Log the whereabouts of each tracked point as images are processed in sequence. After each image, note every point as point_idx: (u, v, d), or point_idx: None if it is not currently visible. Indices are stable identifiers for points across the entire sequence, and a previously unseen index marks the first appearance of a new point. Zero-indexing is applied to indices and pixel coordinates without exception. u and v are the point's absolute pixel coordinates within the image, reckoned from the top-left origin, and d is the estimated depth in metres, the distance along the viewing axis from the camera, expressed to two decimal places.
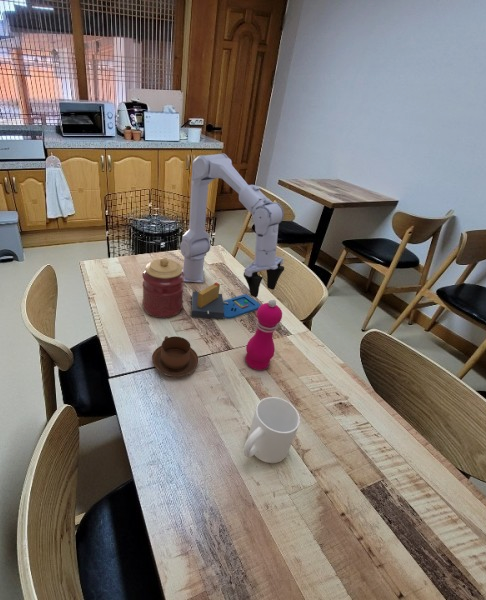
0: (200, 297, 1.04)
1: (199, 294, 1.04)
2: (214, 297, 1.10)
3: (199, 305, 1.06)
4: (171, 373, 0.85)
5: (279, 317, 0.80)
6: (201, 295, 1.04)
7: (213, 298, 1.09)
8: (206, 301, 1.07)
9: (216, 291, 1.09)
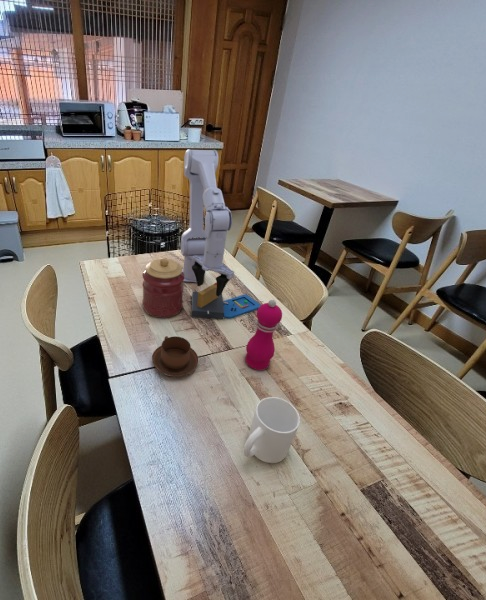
0: (200, 297, 1.04)
1: (199, 294, 1.04)
2: (214, 297, 1.10)
3: (199, 305, 1.06)
4: (171, 373, 0.85)
5: (279, 317, 0.80)
6: (201, 295, 1.04)
7: (213, 298, 1.09)
8: (206, 301, 1.07)
9: None
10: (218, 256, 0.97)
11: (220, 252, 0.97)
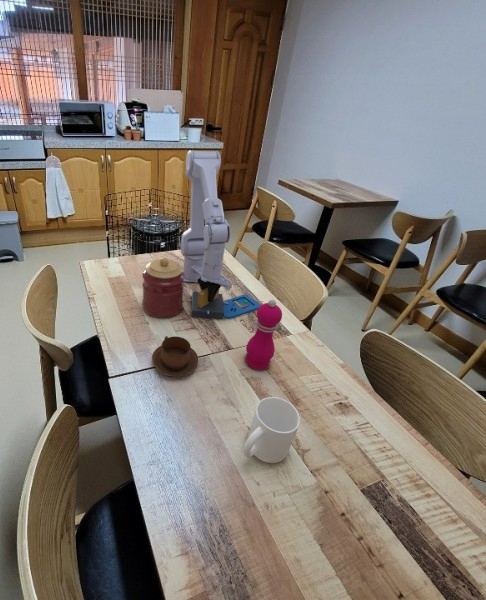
0: (200, 297, 1.04)
1: (199, 294, 1.04)
2: (214, 297, 1.10)
3: (199, 305, 1.06)
4: (171, 373, 0.85)
5: (279, 317, 0.80)
6: (201, 295, 1.04)
7: None
8: (206, 301, 1.07)
9: None
10: (216, 267, 0.99)
11: (218, 263, 0.99)
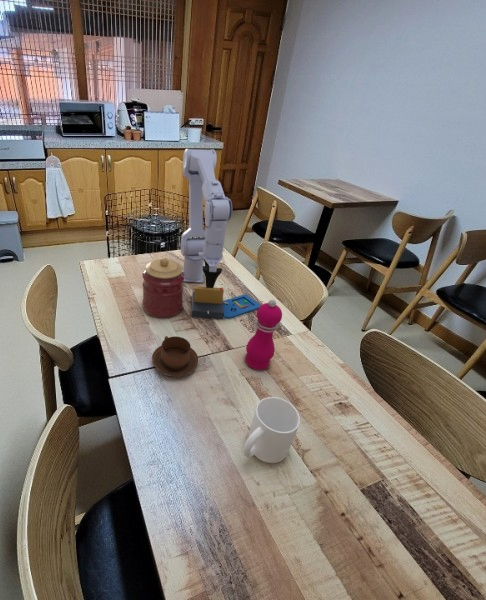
0: None
1: (195, 288, 1.07)
2: (215, 301, 1.08)
3: (194, 299, 1.09)
4: (171, 373, 0.85)
5: (279, 317, 0.80)
6: (195, 289, 1.06)
7: (213, 301, 1.08)
8: (202, 299, 1.08)
9: (217, 296, 1.07)
10: (210, 245, 0.96)
11: (220, 242, 0.96)
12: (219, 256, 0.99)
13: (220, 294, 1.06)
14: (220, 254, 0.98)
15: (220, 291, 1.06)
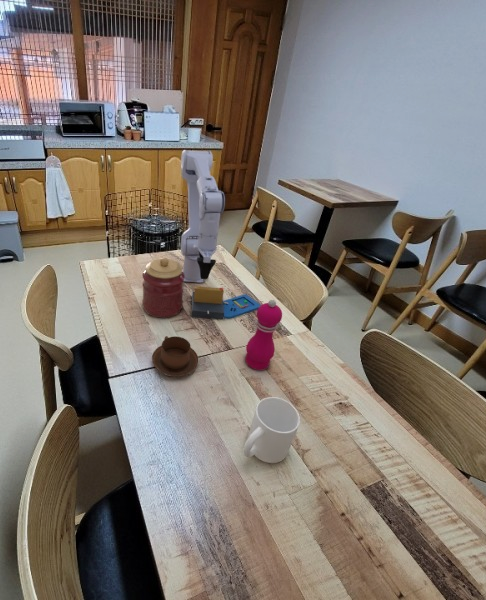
0: None
1: (195, 288, 1.07)
2: (215, 301, 1.08)
3: (194, 299, 1.09)
4: (171, 373, 0.85)
5: (279, 317, 0.80)
6: (195, 289, 1.06)
7: (213, 301, 1.08)
8: (202, 299, 1.08)
9: (217, 296, 1.07)
10: (204, 237, 1.00)
11: (213, 234, 0.99)
12: (213, 248, 1.02)
13: (220, 294, 1.06)
14: (214, 246, 1.02)
15: (220, 291, 1.06)
